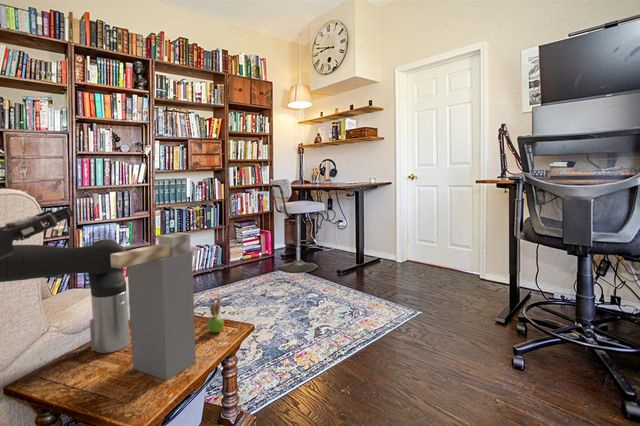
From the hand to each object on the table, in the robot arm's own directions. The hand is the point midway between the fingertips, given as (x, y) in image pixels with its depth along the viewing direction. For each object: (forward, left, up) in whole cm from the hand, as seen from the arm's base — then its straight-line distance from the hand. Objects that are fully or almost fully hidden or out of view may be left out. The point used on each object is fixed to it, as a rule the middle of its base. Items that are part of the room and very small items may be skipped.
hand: (61, 212), depth 78 cm
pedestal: (+16, +13, -44) cm, 49 cm away
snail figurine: (+26, +33, -45) cm, 62 cm away
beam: (+17, +7, -12) cm, 22 cm away
